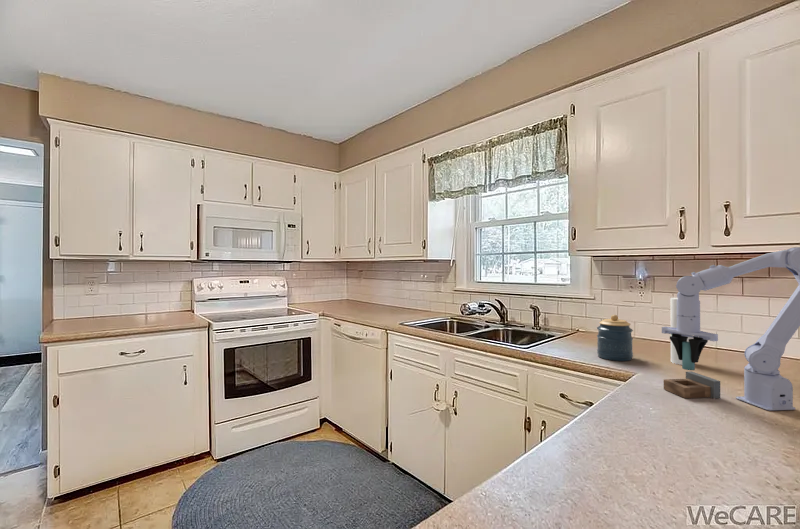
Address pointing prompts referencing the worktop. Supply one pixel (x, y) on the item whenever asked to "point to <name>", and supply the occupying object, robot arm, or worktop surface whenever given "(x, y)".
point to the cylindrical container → (674, 325)
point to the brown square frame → (687, 388)
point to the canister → (614, 339)
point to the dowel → (687, 357)
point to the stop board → (706, 382)
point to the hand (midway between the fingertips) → (688, 360)
